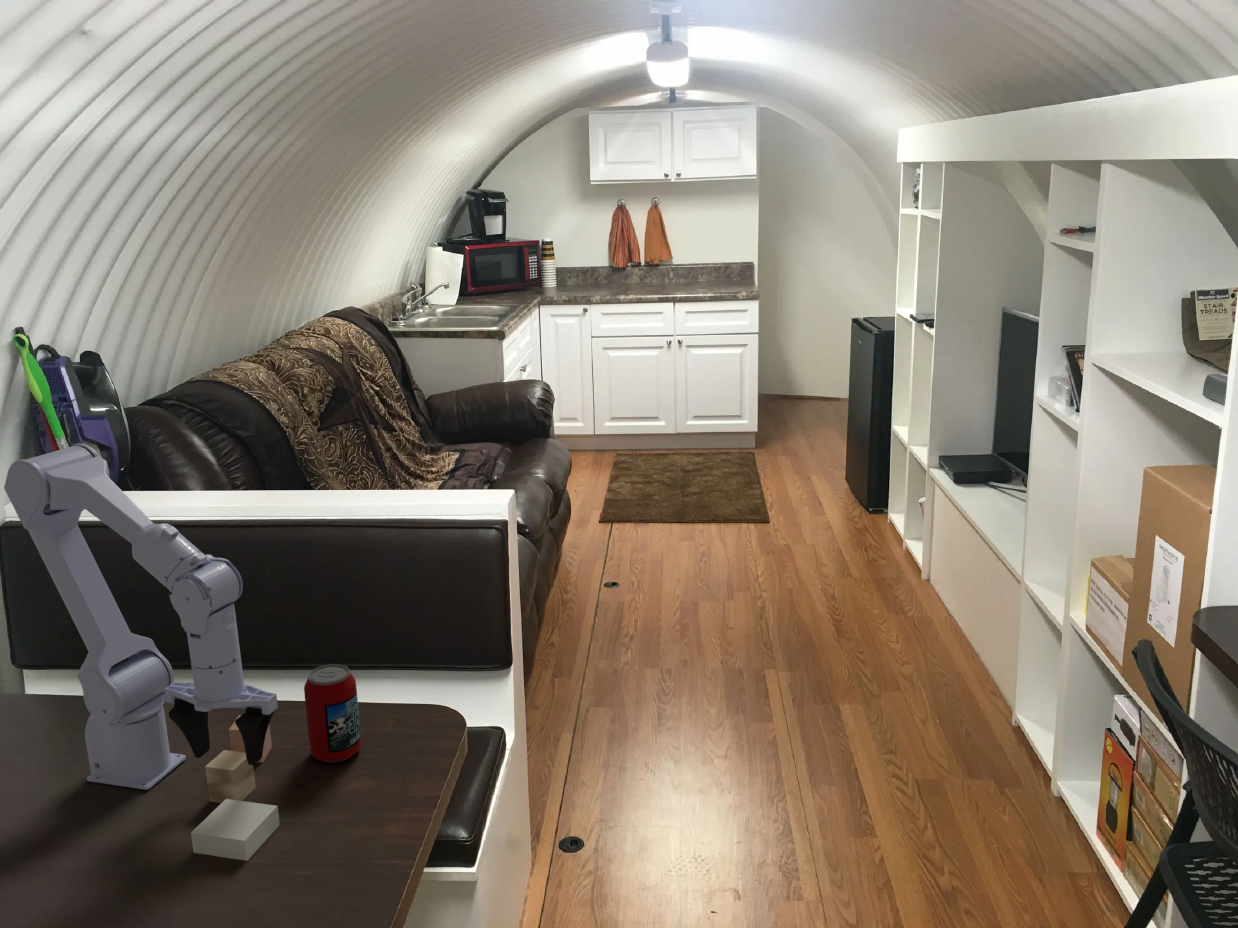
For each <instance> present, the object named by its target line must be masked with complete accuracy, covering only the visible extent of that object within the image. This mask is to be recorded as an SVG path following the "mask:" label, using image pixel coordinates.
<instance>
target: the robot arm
mask: <svg viewBox="0 0 1238 928" xmlns="http://www.w3.org/2000/svg"><path fill="white" fill-rule="evenodd" d="M3 489H4V491H5V493H6V495H7V497H8V499H9V501H10V502H11V505H12V507H13V509H14V510H15V513H16V515H17V517H18V519H19V521H20V523H21V524H22V526H23V529H25V530H26V531H28V533H29V535H30V537H31V539H32V542H33V543H34V545H35V547H36V550H37V551H38V554H39V555H40V557H41V559H42V561H43V563H44V566H45V567H46V569H47V571H48V573H49V576H50V577H51V580H52V582H53V583H54V585H55V587H56V589H57V591H58V593H59V596H60V597H61V599H62V601H63V603H64V606H65V608H66V609H67V611H68V613H69V616H70V617H71V619H72V622H73V624H74V625H75V627H76V629H77V632H78V633H79V635H80V637H81V640H82V641H83V643H84V646H85V647H86V650H87V652H88V653H87V655H86V657H85V659H84V661H83V663H82V665H81V666H80V668H79V670H78V673H77V676H76V677H77V679H78V681H79V683H80V685H81V689H82V693H83V700H84V705H85V707H86V709H87V710H88V713H90V715H89V717H88V718H87V721H86V725H85V728H84V739H85V744H86V752H87V756H88V764H89V769H90V770H89V771H90V774H89V775H88V776H86V781H88V782H92V783H97V784H98V783H99V784H105V785H112V786H119V787H127V788H132V789H138V790H144V791H147V790H150V789H151V788H152V787H153V786H155V785H156V784H157V783H158V782H160V781H161V780H162V779H163V778H164V777H165V776H166V775H168V774H169V773H171V772H172V771H173V770H174V769H175V768H176V767H178V766H179V765H181V763H183V762H184V761H185V760H186V758H187V757H186V756H187V755H185V754H180V753H174V752H171V750H170V743H169V738H168V737H169V736H168V729H167V721H166V715H165V709H164V703H167V704H174V705H173V707H172V708H171V709H170V710H169V711H168V716H169V717H168V718H169V719H170V720H171V721H172V722H173V723H174V724H175V725H176V727H178V728H179V729H180V731H181V732H182V734H183V736H184V737H185V739H186V741H187V743H188V745H189V746H190V749H191V751H192V753H193V755H194V757H195V759H196V758H197V759H201V758H202V757H203V756H204V755H205V754H206V753H207V752H209V751H210V748H211V747H210V744H211V743H210V742H211V741H210V732H209V731H210V730H209V712H210V711H212V710H214V709H227V708H228V709H229V708H234V709H240V710H241V709H242V710H245V712H244V713H242V714H240V715H241V716H240V717H239V718H238V719H237V718H236V719H235V720H234V722H235V724H236V725H237V727H238V729H239V731H240V733H241V735H242V738H243V741H244V745H245V752H246V758H247V762H248V764H249V765H253V766H255V765H256V764H257V762H258V761H259V760H260V759H261V758H262V755H263V747H264V741H265V736H266V732H267V729H268V726H270V723H271V721H272V718H273V716H274V713H275V711H276V710H277V709H278V708H279V704H278V696H277V693H274V692H269V691H265V690H263V689H260V688H258V687H255V686H252V685H250V684H247V683H246V682H244V672H243V665H242V657H241V656H242V655H241V649H240V642H239V641H240V640H239V633H238V632H239V631H238V625H237V624H238V623H237V616H236V615H237V614H236V609H235V603H234V602H236V601H237V600H239V598H240V597H241V596H242V593H243V588H244V587H243V586H244V584H243V579H242V576H241V574H240V572H239V570H238V569H237V567H235V566H234V565H233V564H232V562H231V560H228V559H227V558H223V557H215V556H213V555H212V554H204V552H202V551H201V550H200V549H199V548H198V547H197V546H196V545H194V544H193V543H192V542H191V541H189V540H188V539H187V538H186V537H185V536H184V535H182V534H181V532H180V531H179V530H178V529H177V528H176V527H174V525H171V524H170V523H166V522H165V523H164V522H163V523H154V522H153V521H152V520H151V519H150V518H149V517H148V516H147V515H146V514H145V513H144V512H143V511H142V510H141V508H139V507H138V506H137V504H136V503H134V502H133V500H132V499H131V498H129V496H128V495H127V494H126V493H125V492H124V491H123V490H122V489H121V488H120V487H119V486H118V485H117V484H116V483H115V482H114V481H113V480H112V479H111V478H110V469H109V466H108V461H107V460H106V459H104V458H103V457H101V456H100V455H99V453H98V452H97V451H96V449H94V448H93V447H91V446H90V445H87V444H86V443H75V444H72V445H71V446H68V447H66V448H61V449H59V450H55V451H52V452H48V453H45V454H41V455H38V456H33V457H29V458H27V459H25V458H23V459H22V458H21V459H18V460H15V461H13V462H12V463H11V464H10V466H9V467H8V471H7V475H6V479H5V483H4V487H3ZM85 510H86V511H87V512H88V513H90V514H91V515H93V516H94V517H96V518H97V520H99V521H101V523H104V525H106V526H107V527H109V528H110V529H111V530H113V531H114V532H115V533H116V534H118V535H120V536H121V537H122V538H124V539H125V540H126V541H127V542H129V543H130V544H131V552H132V553H131V554H132V558H133V559H134V561H136V562H137V563H138V564H139V565H140V566H141V567H142V568H143V569H145V570H146V571H147V572H148V573H149V574H150V575H151V576H152V577H154V578H155V579H156V580H157V581H158V582H159V583H160V584H162V585H163V587H165V588H166V589H167V590H169V592H170V593H171V594H169V600H170V602H171V605H172V607H173V609H174V610H175V611H176V613H177V614H178V617H179V618H180V619H179V620H180V625H181V628H183V631H184V632H186V636H187V643H188V651H189V658H190V665H191V671H192V673H191V674H192V680H193V681H191V682H188V681H187V682H186V681H185V682H179V681H175V680H174V679H175V678H174V671H173V668H172V667H173V666H172V665H171V663H170V662H169V660H168V659H167V658H166V657H165V656H164V655H163V654H162V653H161V652H160V651H159V649H158V648H157V646H156V644H155V643H154V640H153V639H152V638H149V637H146V636H143V635H138V634H136V633H133V632H131V630H130V627H129V626H128V624H127V622H126V621H125V618H124V616H123V613H122V612H121V611H120V608H119V606H118V604H117V602H116V600H115V598H114V596H113V594H112V591H111V590H110V588H109V586H108V584H107V582H106V580H105V578H104V575H103V574H102V572H101V571H102V570H100V568H99V566H98V564H97V562H96V559H95V558H94V556H93V553H92V551H91V549H90V547H89V546H88V545H89V544H88V543H87V541H86V539H85V537H84V536H83V533H82V532H81V528H80V527H79V520H80V517H81V515H82V513H83V512H84V511H85ZM126 659H128V660H126ZM123 660H126V661H124V662H123V663H121V662H122V661H123ZM118 663H120V664H119V665H116V664H118ZM115 665H116V666H115ZM113 666H115V667H113Z"/></svg>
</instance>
